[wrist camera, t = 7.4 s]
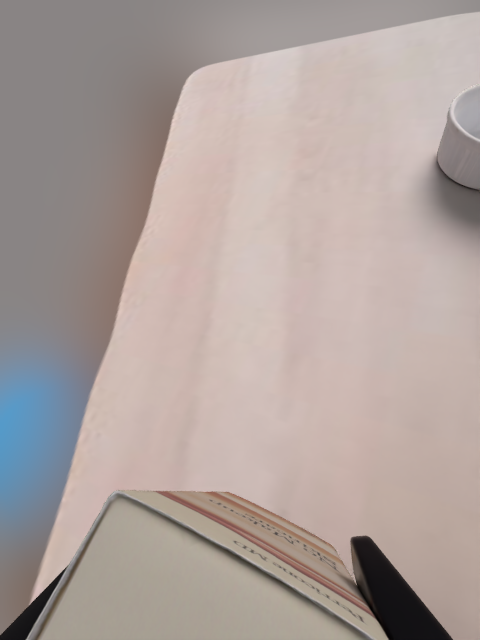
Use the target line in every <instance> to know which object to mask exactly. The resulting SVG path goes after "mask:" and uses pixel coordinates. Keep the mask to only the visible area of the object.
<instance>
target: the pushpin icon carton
mask: <svg viewBox="0 0 480 640" xmlns="http://www.w3.org/2000/svg"><path fill="white" fill-rule="evenodd" d="M26 640H389V639H388V638H387V636H386V634H385V632H384V631H383V629H382V627H381V626H380V624H379V623H378V621H377V619H376V618H375V616H374V614H373V613H372V611H371V609H370V607H369V605H368V604H367V602H366V601H365V599H364V597H363V596H362V594H361V592H360V591H359V589H358V587H357V585H356V584H355V582H354V580H353V579H352V577H351V575H350V574H349V572H348V571H347V569H346V567H345V565H344V564H343V562H342V560H341V558H340V557H339V555H338V553H337V552H336V550H335V549H334V547H333V546H332V545H330V544H329V543H327V542H325V541H324V540H322V539H320V538H319V537H317V536H315V535H313V534H312V533H310V532H308V531H306V530H304V529H303V528H301V527H299V526H297V525H295V524H293V523H291V522H289V521H288V520H286V519H284V518H282V517H280V516H278V515H276V514H274V513H272V512H270V511H268V510H266V509H264V508H262V507H260V506H258V505H256V504H254V503H252V502H250V501H248V500H246V499H243V498H241V497H239V496H237V495H234V494H232V493H229V492H195V491H162V492H161V491H136V490H117V491H114V492H113V493H112V494H111V495H110V496H109V497H108V499H107V500H106V502H105V503H104V505H103V507H102V510H101V512H100V513H99V515H98V517H97V518H96V520H95V522H94V523H93V525H92V527H91V529H90V531H89V532H88V534H87V535H86V537H85V538H84V540H83V542H82V544H81V545H80V547H79V549H78V551H77V552H76V554H75V555H74V557H73V559H72V560H71V562H70V564H69V565H68V567H67V569H66V571H65V572H64V574H63V576H62V578H61V580H60V581H59V583H58V585H57V586H56V588H55V590H54V591H53V593H52V595H51V597H50V598H49V600H48V602H47V604H46V606H45V607H44V609H43V611H42V612H41V614H40V616H39V617H38V619H37V621H36V623H35V624H34V626H33V628H32V630H31V632H30V633H29V635H28V637H27V639H26Z"/></svg>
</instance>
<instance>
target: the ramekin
mask: <svg viewBox="0 0 480 640" xmlns="http://www.w3.org/2000/svg"><path fill="white" fill-rule="evenodd" d="M437 160H438V163H439V165H440V167H441V169H442V170H443V172H444V173H445V174H446V175H447V176H448V177H450V178H451V179H452V180H454V181H456V182H457V183H459V184H461V185H464V186H467V187H470V188H473V189H478V190H480V84H477V85H474V86H472V87H470V88H468V89H466V90H464V91H463V92H461V93H460V94H459V95H457V96H456V97H455V98H454V100H453V101H452V103H451V105H450V107H449V111H448V116H447V123H446V126H445V129H444V132H443V136H442V139H441V142H440V145H439V148H438V153H437Z"/></svg>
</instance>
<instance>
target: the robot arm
mask: <svg viewBox="0 0 480 640" xmlns="http://www.w3.org/2000/svg"><path fill="white" fill-rule="evenodd" d="M351 553H352V564H353V570H354V575H355V579H356V583H357V587H358V589H359V591H360V592H361V594H362V596H363V597H364V599H365V601H366V602H367V604H368V605H369V607H370V609H371V611H372V613H373V614H374V616H375V618H376V619H377V621H378V623H379V624H380V626H381V627H382V629H383V631H384V632H385V634H386V636H387V638H388V639H389V640H453V639H452V638H451V636H450V635H449V634H448V633H447V631H446V630H445V629H444V628H443V627H442V625H441V624H440V623H439V622H438V620H437V619H436V618H435V617H434V615H433V614H432V613H431V612H430V611H429V609H428V608H427V607H426V606H425V604H424V603H423V602H422V601H421V599H420V598H419V597H418V596H417V594H416V593H415V592H414V591H413V590H412V588H411V587H410V586H409V585H408V583H407V582H406V581H405V580H404V578H403V577H402V576H401V575H400V574H399V572H398V571H397V570H396V569H395V567H394V566H393V565H392V564H391V562H390V561H389V560H388V559H387V558H386V556H385V555H384V554H383V553H382V551H381V550H380V549H379V548H378V546H377V545H376V544H375V543H374V542H373V540H372V539H371V538H370V537H368V536H356V537H352V538H351ZM67 567H68V566H67ZM67 567H66V568H65V569H64V570H63V571H62V572H61V573H60V574H59V575H58V576H57V577H56V578H55V579H54V581H53V582H52V583H51V584H50V585H49V586H48V587H47V588H46V589H45V590H44V591H43V592H42V593H41V594H40V595H39V596H38V597H37V598H36V599H35V600H34V601H33V602H32V603H31V604H30V605H29V606H28V607H27V608H26V609H25V611H24V612H23V613H22V614H21V615H20V616H19V617H18V618H17V619H16V620H15V621H14V622H13V623H12V624H11V625H10V626H9V627H8V628H7V629H6V630H5V631H4V632H3V633H2V634H1V635H0V640H26V639H27V637H28V635H29V633H30V632H31V630H32V628H33V626H34V624H35V623H36V621H37V619H38V617H39V616H40V614H41V612H42V611H43V609H44V607H45V606H46V604H47V602H48V600H49V598H50V597H51V595H52V593H53V591H54V590H55V588H56V586H57V585H58V583H59V581H60V580H61V578H62V576H63V574H64V572H65V571H66V569H67Z"/></svg>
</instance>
